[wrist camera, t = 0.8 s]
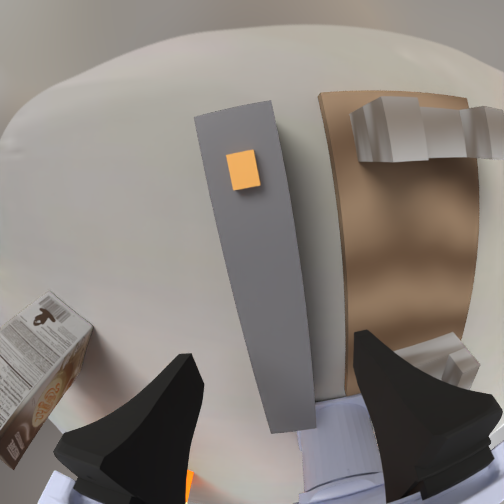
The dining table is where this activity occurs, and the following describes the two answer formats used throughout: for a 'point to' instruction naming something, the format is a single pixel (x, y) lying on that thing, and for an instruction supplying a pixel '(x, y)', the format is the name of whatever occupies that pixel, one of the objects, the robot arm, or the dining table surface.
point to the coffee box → (36, 369)
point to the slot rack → (409, 220)
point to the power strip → (261, 256)
